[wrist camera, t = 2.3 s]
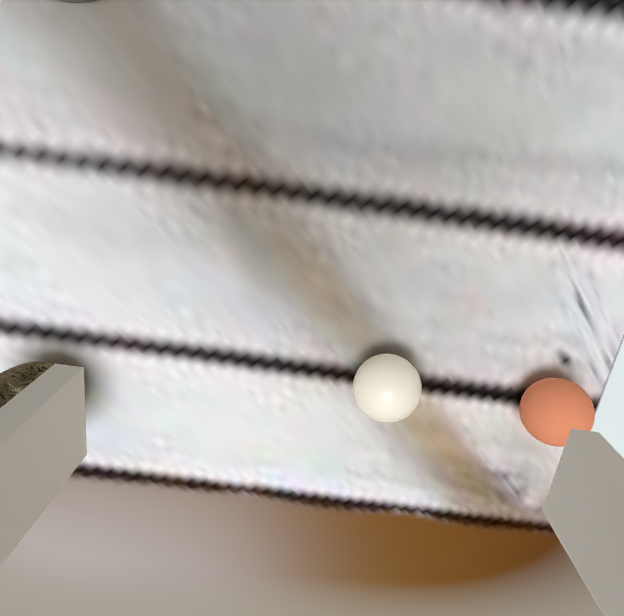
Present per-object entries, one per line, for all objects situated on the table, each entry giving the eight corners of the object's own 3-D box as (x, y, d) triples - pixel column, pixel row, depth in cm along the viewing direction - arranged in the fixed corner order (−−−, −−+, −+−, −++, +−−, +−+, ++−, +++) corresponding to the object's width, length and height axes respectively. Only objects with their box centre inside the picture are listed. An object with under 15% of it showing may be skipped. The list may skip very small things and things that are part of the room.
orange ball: (502, 417, 43) (526, 455, 38) (519, 362, 41) (547, 393, 36) (563, 426, 43) (595, 465, 38) (582, 371, 41) (619, 404, 36)
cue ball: (346, 395, 43) (349, 431, 38) (357, 338, 41) (361, 367, 36) (408, 404, 43) (419, 440, 38) (421, 348, 41) (434, 377, 36)
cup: (87, 333, 42) (33, 375, 34) (114, 407, 44) (70, 463, 36) (6, 347, 42) (-64, 392, 35) (37, 420, 45) (-22, 477, 37)
